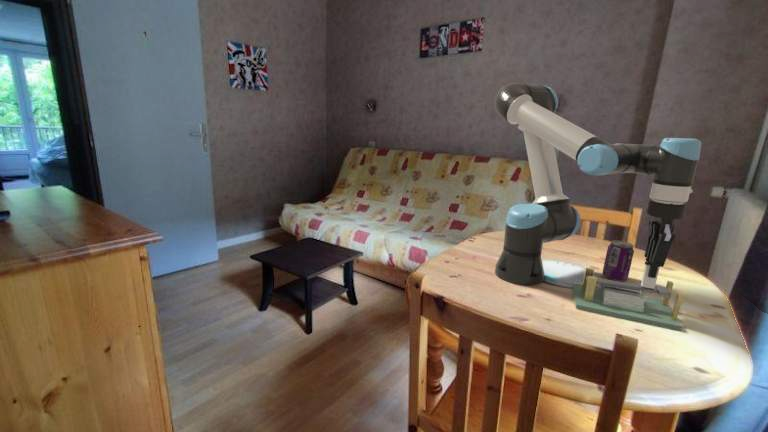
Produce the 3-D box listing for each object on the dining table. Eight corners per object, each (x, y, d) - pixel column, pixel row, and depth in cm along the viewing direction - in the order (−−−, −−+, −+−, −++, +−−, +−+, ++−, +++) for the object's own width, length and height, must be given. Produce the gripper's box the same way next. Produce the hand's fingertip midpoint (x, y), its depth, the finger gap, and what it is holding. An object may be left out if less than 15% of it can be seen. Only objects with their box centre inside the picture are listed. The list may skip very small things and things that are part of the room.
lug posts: (584, 301, 95) (588, 278, 94) (581, 287, 103) (585, 266, 102) (676, 320, 87) (683, 295, 85) (666, 303, 95) (672, 280, 93)
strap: (586, 284, 97) (587, 279, 96) (585, 279, 100) (586, 274, 100) (670, 297, 89) (671, 292, 88) (665, 291, 92) (666, 285, 92)
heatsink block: (602, 305, 94) (605, 291, 93) (598, 291, 102) (601, 278, 101) (642, 313, 90) (646, 299, 89) (635, 298, 98) (638, 285, 97)
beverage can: (631, 283, 110) (639, 248, 107) (607, 281, 111) (614, 246, 108) (621, 274, 116) (628, 241, 113) (598, 272, 118) (605, 239, 115)
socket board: (575, 308, 94) (576, 304, 94) (572, 285, 107) (573, 282, 107) (680, 330, 85) (682, 326, 84) (663, 303, 98) (664, 299, 98)
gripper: (696, 208, 79) (672, 300, 85) (678, 197, 90) (657, 280, 96) (656, 204, 82) (636, 294, 88) (643, 195, 93) (626, 274, 99)
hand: (647, 286), depth 92 cm, fingers closed
